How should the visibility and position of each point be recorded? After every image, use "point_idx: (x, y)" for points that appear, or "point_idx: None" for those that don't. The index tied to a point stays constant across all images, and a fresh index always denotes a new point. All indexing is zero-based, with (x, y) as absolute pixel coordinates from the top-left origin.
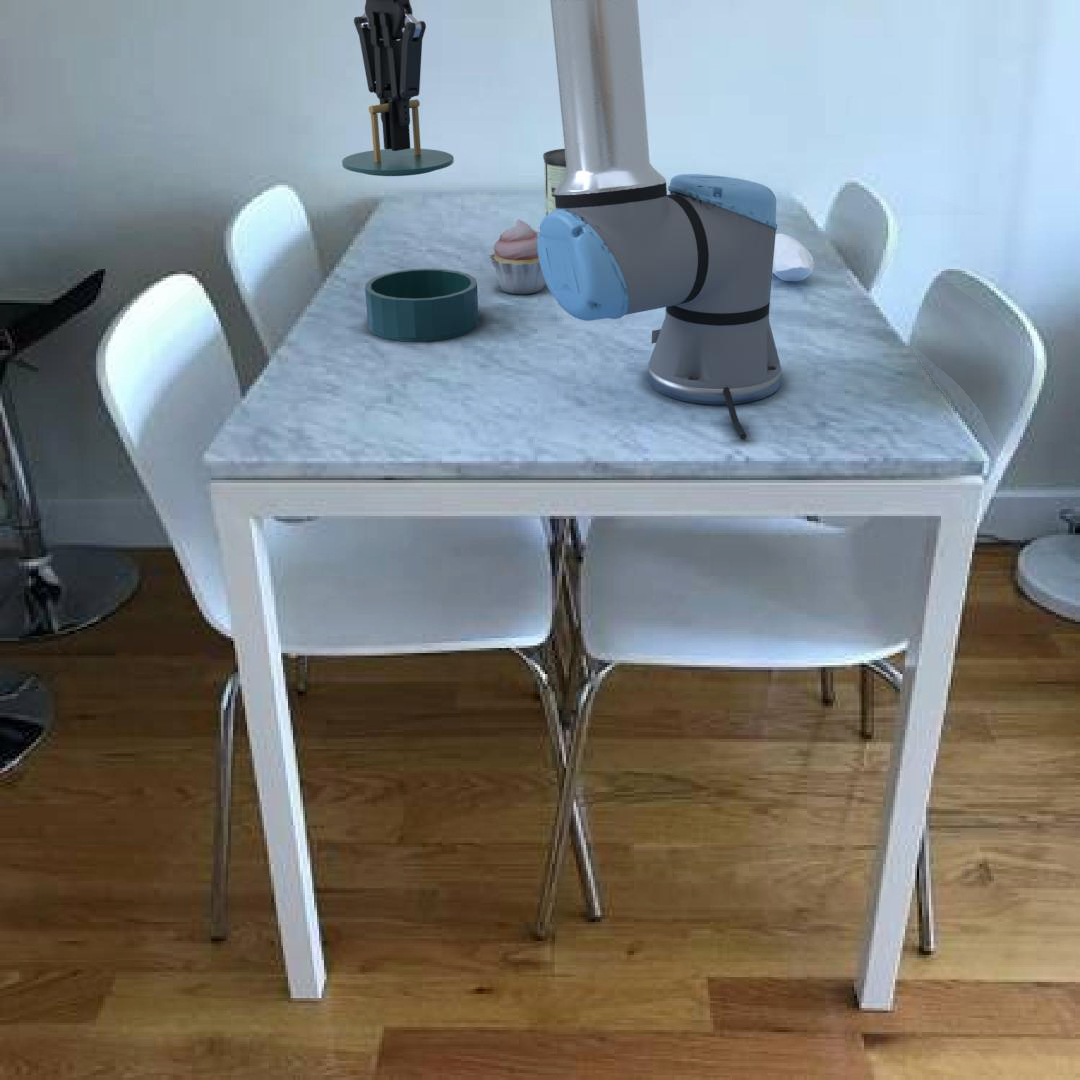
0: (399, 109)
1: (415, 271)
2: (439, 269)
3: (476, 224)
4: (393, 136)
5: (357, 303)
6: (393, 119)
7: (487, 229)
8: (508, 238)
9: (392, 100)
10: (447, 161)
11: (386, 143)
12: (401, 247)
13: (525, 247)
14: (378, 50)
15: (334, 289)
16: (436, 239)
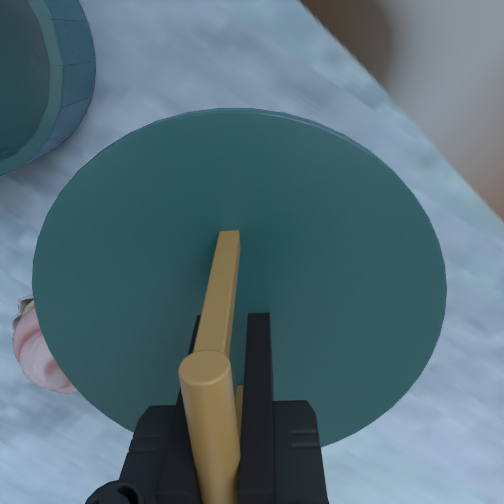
0: (136, 474)
1: (46, 109)
2: (25, 156)
3: (464, 453)
4: (192, 352)
5: (195, 21)
6: (175, 412)
7: (425, 448)
8: (40, 333)
9: (96, 493)
10: (90, 397)
11: (252, 327)
12: (461, 306)
13: (13, 335)
14: None
15: (322, 40)
16: (448, 371)
